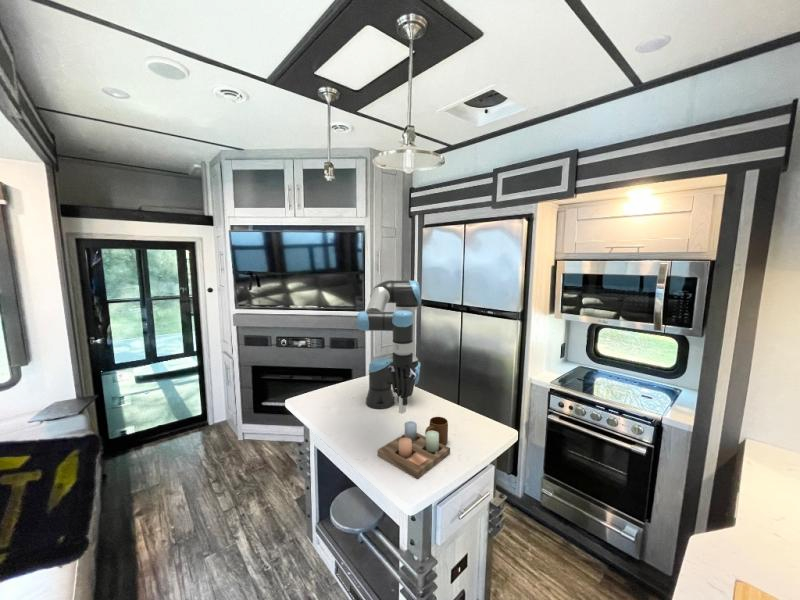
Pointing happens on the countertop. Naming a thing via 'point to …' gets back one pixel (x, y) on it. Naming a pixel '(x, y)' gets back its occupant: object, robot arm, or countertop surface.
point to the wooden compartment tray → (413, 456)
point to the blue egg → (410, 430)
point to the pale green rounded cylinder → (432, 441)
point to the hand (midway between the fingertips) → (402, 412)
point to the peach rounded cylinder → (405, 447)
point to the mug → (439, 428)
